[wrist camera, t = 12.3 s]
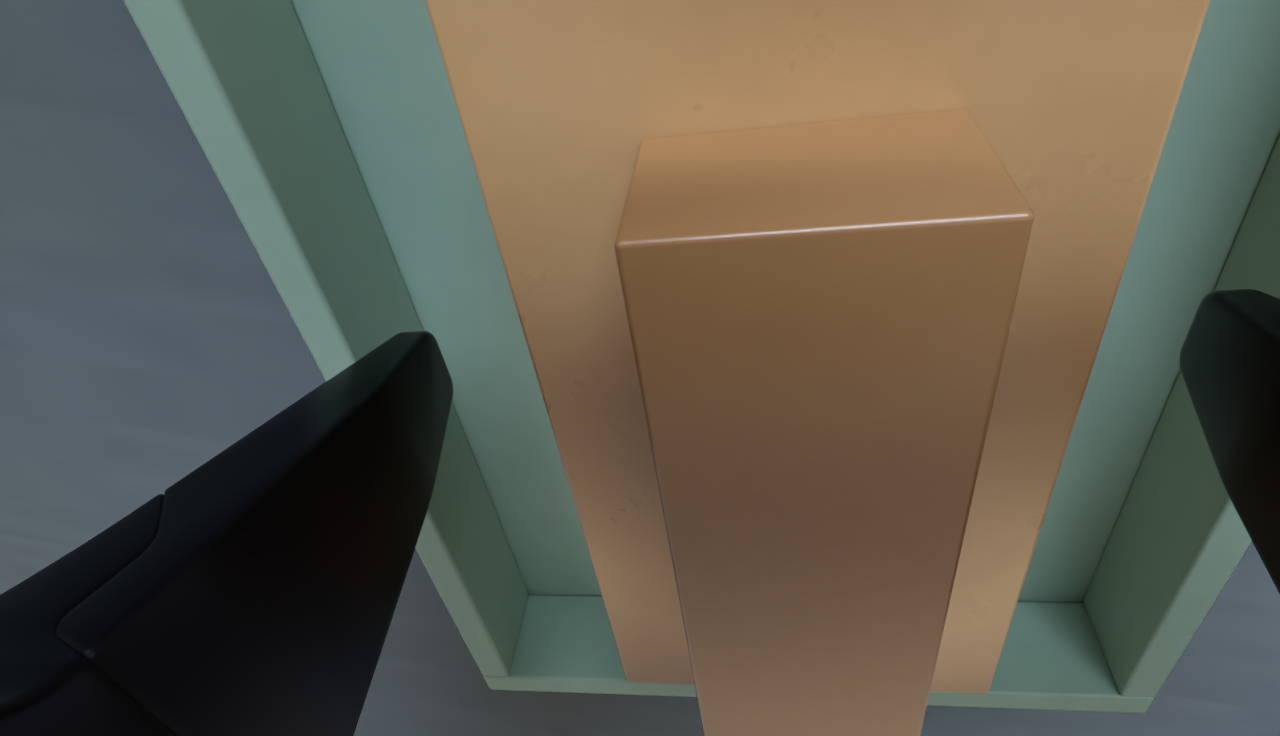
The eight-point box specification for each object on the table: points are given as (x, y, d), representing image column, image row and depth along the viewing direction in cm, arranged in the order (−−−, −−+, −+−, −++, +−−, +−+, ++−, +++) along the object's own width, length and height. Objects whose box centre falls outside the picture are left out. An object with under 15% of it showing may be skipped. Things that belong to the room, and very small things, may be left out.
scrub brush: (935, 488, 13) (1022, 821, 9) (649, 492, 14) (612, 797, 10) (1053, -213, 7) (1503, -160, 3) (527, -128, 8) (295, 2, 4)
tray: (1096, 596, 16) (1146, 714, 14) (516, 589, 18) (489, 690, 16) (1911, -1258, 4) (2912, -2126, 2) (1, -647, 6) (-319, -818, 4)
